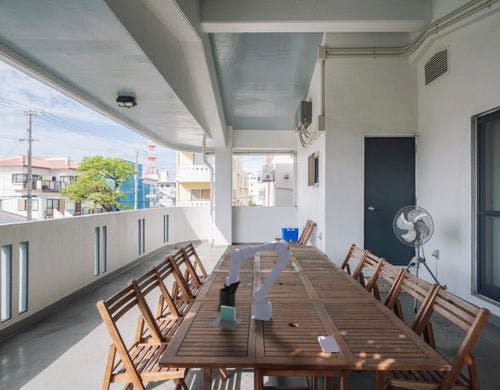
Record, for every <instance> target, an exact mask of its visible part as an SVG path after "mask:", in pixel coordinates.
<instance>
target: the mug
mask: <svg viewBox="0 0 500 390" xmlns="http://www.w3.org/2000/svg"><path fill="white" fill-rule="evenodd" d="M218 294H219V302H218V304H219V306H220V307H221V306H228V307H236V293H235V294H234V293H231V296H230V298H228V297H226V292H225V287H222V288H220V289H219V293H218Z"/></svg>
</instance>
